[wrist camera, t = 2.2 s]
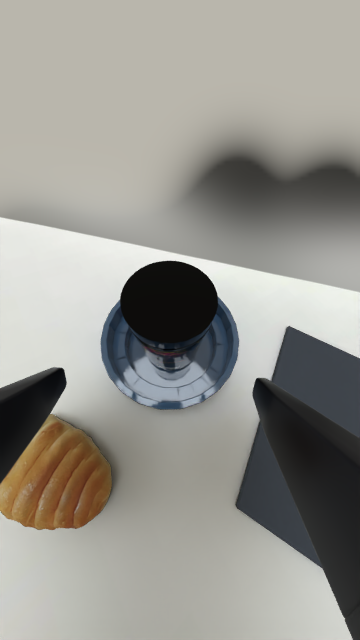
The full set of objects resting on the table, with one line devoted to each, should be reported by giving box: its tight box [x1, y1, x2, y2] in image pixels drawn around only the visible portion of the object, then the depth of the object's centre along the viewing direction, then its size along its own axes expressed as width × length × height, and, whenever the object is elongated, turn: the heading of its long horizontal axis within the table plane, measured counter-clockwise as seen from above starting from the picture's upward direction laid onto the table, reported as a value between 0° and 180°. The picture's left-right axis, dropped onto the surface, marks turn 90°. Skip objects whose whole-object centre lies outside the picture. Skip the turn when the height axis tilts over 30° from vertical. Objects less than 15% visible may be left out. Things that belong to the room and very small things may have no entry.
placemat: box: [236, 326, 360, 568], centre depth 17 cm, size 20×15×1 cm
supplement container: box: [120, 261, 218, 370], centre depth 16 cm, size 7×7×10 cm
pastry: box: [0, 414, 112, 530], centre depth 14 cm, size 9×7×4 cm
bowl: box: [101, 297, 239, 410], centre depth 19 cm, size 14×14×4 cm
